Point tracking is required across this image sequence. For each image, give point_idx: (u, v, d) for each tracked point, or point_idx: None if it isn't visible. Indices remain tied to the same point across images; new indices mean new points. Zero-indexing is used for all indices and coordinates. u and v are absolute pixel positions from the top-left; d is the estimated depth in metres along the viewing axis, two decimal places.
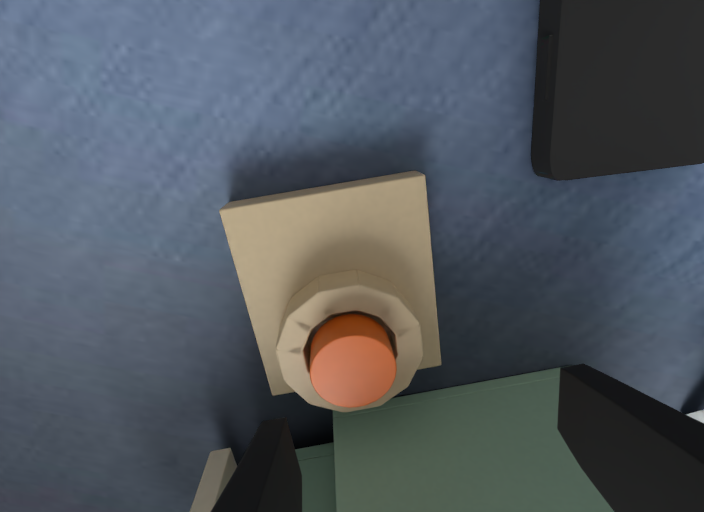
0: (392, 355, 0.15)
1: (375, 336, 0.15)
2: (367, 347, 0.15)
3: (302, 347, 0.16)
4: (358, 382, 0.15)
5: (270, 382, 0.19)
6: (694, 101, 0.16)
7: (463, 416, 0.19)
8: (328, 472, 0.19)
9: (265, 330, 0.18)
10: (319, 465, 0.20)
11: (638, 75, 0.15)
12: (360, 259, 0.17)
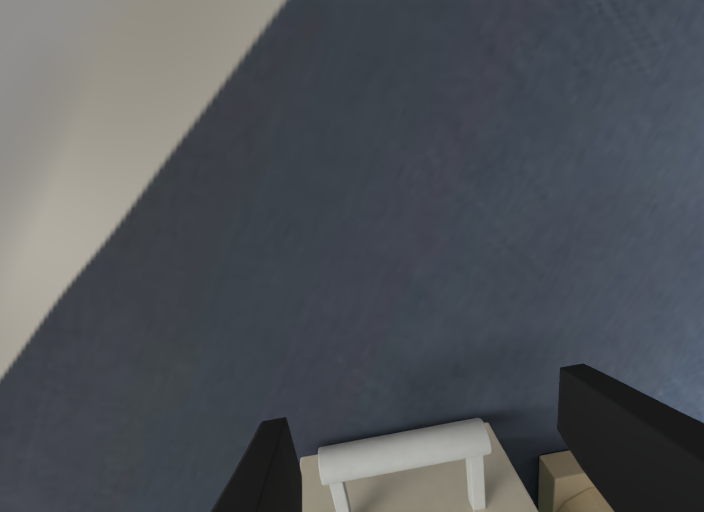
0: None
1: None
2: None
3: None
4: None
5: (568, 477, 0.22)
6: None
7: None
8: None
9: None
10: None
11: None
12: None
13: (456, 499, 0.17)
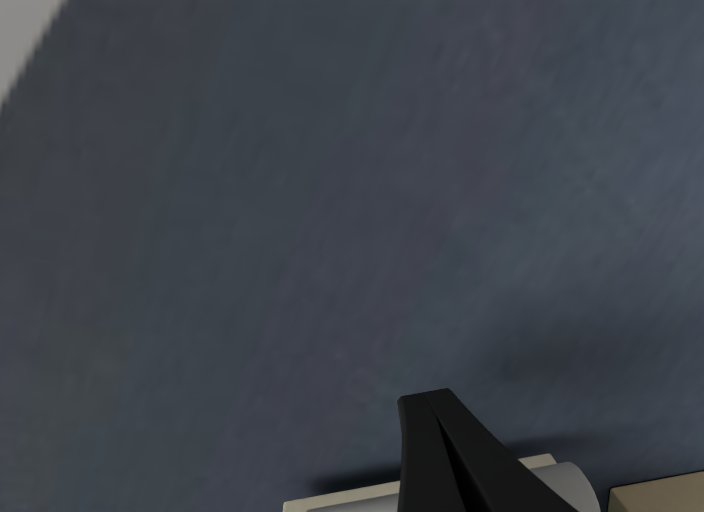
0: None
1: None
2: None
3: None
4: None
5: None
6: None
7: None
8: None
9: None
10: None
11: None
12: None
13: None
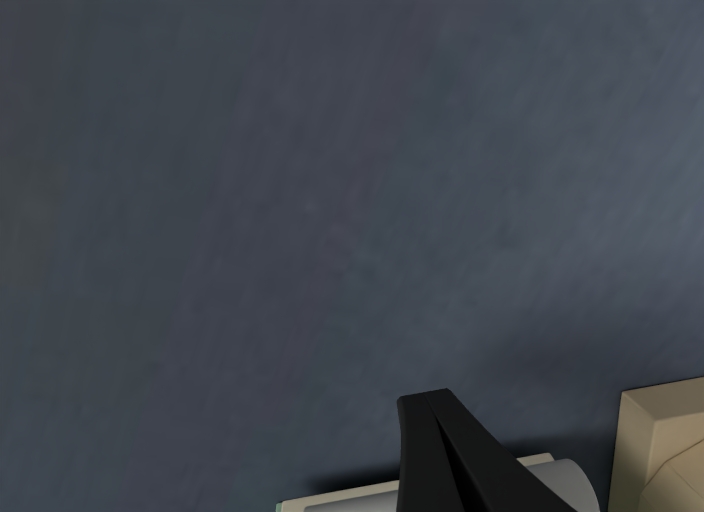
0: None
1: None
2: None
3: None
4: None
5: (678, 419, 0.14)
6: None
7: None
8: None
9: None
10: None
11: None
12: None
13: None
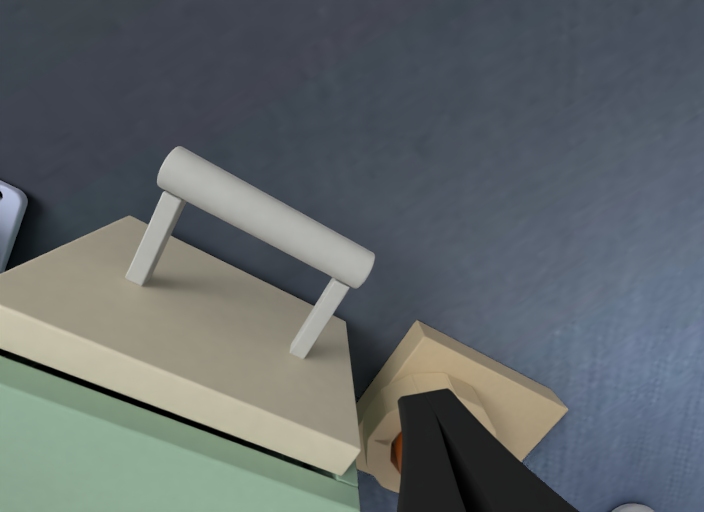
0: None
1: None
2: None
3: None
4: None
5: (437, 344, 0.18)
6: None
7: None
8: None
9: (478, 375, 0.19)
10: None
11: None
12: None
13: (278, 337, 0.14)
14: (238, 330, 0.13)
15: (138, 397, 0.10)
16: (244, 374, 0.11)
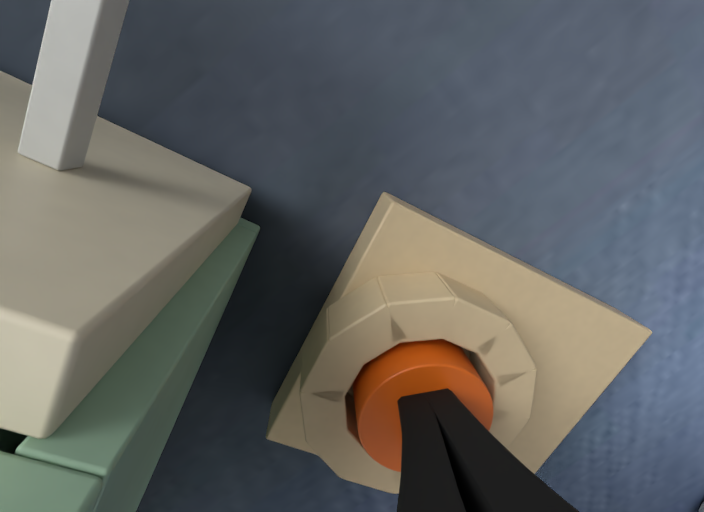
0: None
1: None
2: None
3: (482, 356, 0.10)
4: None
5: (418, 217, 0.10)
6: None
7: (161, 446, 0.11)
8: None
9: (496, 274, 0.11)
10: None
11: None
12: None
13: (11, 135, 0.06)
14: None
15: None
16: None
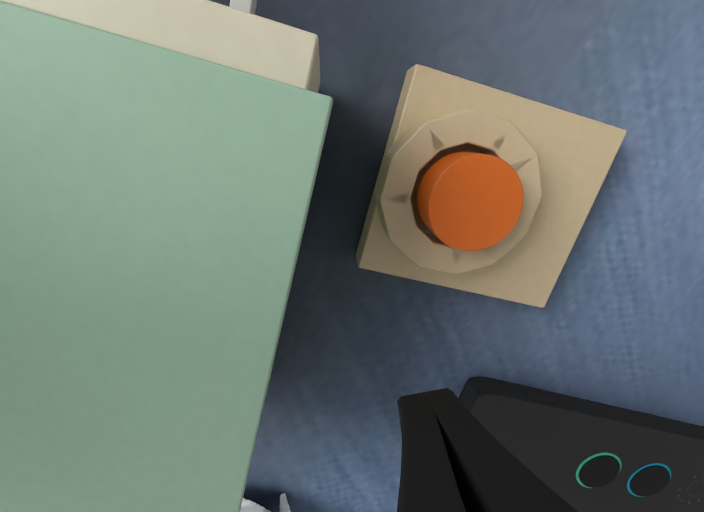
0: (472, 250, 0.14)
1: None
2: (495, 230, 0.14)
3: (497, 151, 0.14)
4: (462, 204, 0.13)
5: (435, 72, 0.15)
6: None
7: None
8: None
9: (498, 105, 0.15)
10: None
11: (516, 450, 0.22)
12: None
13: None
14: None
15: None
16: None
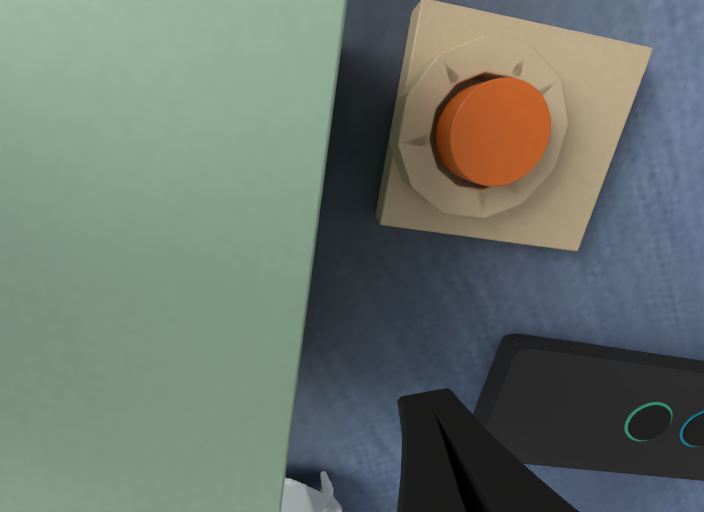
0: (500, 185, 0.13)
1: None
2: (524, 161, 0.13)
3: (517, 78, 0.13)
4: (486, 135, 0.13)
5: (443, 5, 0.14)
6: (523, 441, 0.22)
7: None
8: None
9: (513, 34, 0.14)
10: None
11: (559, 407, 0.21)
12: None
13: None
14: None
15: None
16: None
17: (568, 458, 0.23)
